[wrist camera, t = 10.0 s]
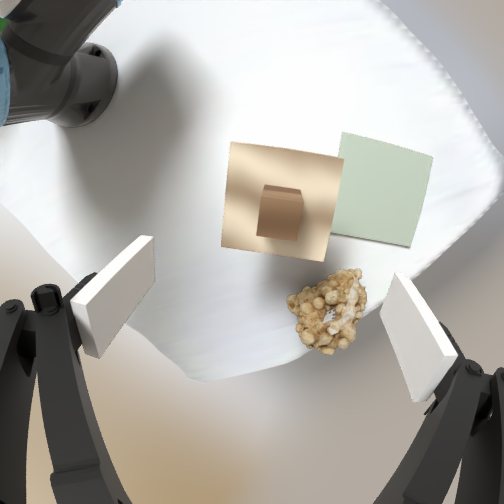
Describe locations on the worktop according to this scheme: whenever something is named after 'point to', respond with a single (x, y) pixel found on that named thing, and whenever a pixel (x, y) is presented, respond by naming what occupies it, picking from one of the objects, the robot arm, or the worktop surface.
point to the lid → (280, 200)
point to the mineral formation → (329, 311)
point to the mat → (380, 190)
